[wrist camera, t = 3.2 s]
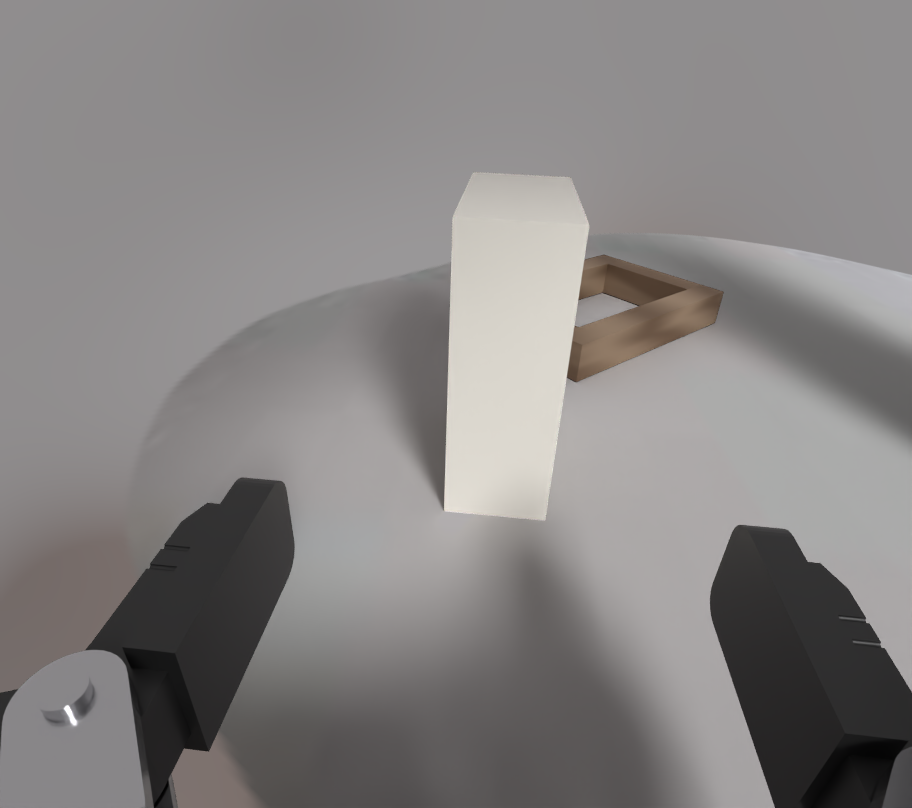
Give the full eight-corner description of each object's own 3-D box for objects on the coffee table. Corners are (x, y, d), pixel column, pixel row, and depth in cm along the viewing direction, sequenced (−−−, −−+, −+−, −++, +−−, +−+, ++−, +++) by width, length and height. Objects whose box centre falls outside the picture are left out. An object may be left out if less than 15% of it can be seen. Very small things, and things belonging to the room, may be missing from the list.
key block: (540, 414, 26) (570, 177, 21) (545, 520, 20) (589, 224, 15) (462, 407, 26) (473, 172, 21) (443, 511, 20) (452, 216, 15)
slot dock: (599, 282, 41) (603, 254, 40) (714, 322, 36) (723, 291, 35) (460, 322, 34) (461, 290, 33) (576, 381, 28) (582, 345, 27)
